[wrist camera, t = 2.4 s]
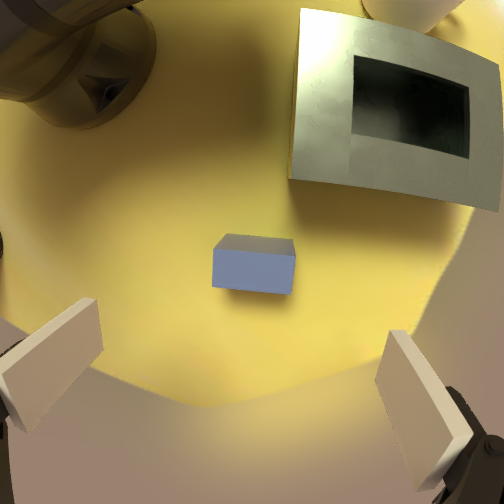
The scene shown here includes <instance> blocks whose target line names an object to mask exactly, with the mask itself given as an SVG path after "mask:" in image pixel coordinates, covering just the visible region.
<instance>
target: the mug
mask: <svg viewBox="0 0 504 504" xmlns="http://www.w3.org/2000/svg"><path fill="white" fill-rule="evenodd" d="M463 1H464V0H362V3H363V5H364V7H365V9H366V11H367V12H368V13H369V15H370V16H371V17H372V18H373V19H374V20H375V21H380V22H384V23H388V24H392V25H395V26H399V27H403V28H406V29H410V30H413V31H416V32H419V33H422V34H425V33H427V32H428V31H430V30H431V29H432V28H433V27H434V26H436V25H437V24H438V23H439V22H440V21H441V20H442V19H444V18H445V17H446V16H447V15H448V14H449V13H450V12H452V11H453V10H454V9H455V8H456V7H457V6H459V5H460V4H461V3H462V2H463Z"/></svg>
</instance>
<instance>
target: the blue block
mask: <svg viewBox="0 0 504 504" xmlns="http://www.w3.org/2000/svg"><path fill="white" fill-rule="evenodd" d="M295 258H296V255H295V250H294V245H293V240H292V239H282V238H271V237H260V236H249V235H237V234H226V235H225V236H224V237H223V239H222V240H221V241H220V242H219V243H218V244H217V245H216V246H215V248H214V251H213V275H212V287H218V288H227V289H236V290H246V291H256V292H266V293H277V294H288V295H291V292H292V284H293V275H294V267H295Z"/></svg>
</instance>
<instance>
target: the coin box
mask: <svg viewBox="0 0 504 504" xmlns="http://www.w3.org/2000/svg"><path fill="white" fill-rule="evenodd" d="M502 165H503V107H502V92H501V81H500V72H499V65H498V64H496V63H494V62H492V61H490V60H488V59H486V58H484V57H481V56H479V55H477V54H475V53H473V52H470V51H468V50H466V49H463V48H461V47H458V46H456V45H453V44H451V43H448V42H445V41H443V40H440V39H437V38H434V37H431V36H428V35H425V34H422V33H419V32H416V31H413V30H410V29H406V28H403V27H399V26H395V25H392V24H388V23H384V22H380V21H375V20H371V19H366V18H362V17H357V16H351V15H346V14H340V13H334V12H327V11H320V10H312V9H302V8H301V12H300V21H299V29H298V37H297V45H296V53H295V71H294V88H293V104H292V118H291V132H290V146H289V159H288V171H287V178H290V179H298V180H308V181H317V182H326V183H334V184H342V185H350V186H357V187H364V188H371V189H378V190H385V191H391V192H398V193H404V194H410V195H415V196H421V197H427V198H432V199H437V200H442V201H448V202H453V203H457V204H462V205H467V206H472V207H476V208H481V209H485V210H490V211H494V212H498V209H499V201H500V192H501V191H500V190H501V180H502Z"/></svg>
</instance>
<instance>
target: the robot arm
mask: <svg viewBox="0 0 504 504" xmlns="http://www.w3.org/2000/svg"><path fill="white" fill-rule="evenodd" d="M141 1H143V0H0V99H4V100H10V101H17V102H22V103H24V104H26V105H27V106H28V107H29V108H31V109H32V110H33V111H34V112H36V113H37V114H38V115H39V116H41V117H42V118H43V119H45V120H46V121H47V122H49V123H50V124H53V125H55V126H58V127H62V128H68V129H75V130H82V129H89V128H93V127H96V126H98V125H101V124H103V123H105V122H107V121H108V120H110V119H112V118H113V117H114V116H116V115H117V114H118V113H120V112H121V111H122V110H123V109H124V108H125V107H126V106H127V105H128V104H129V103H130V102H131V101H132V100H133V99H134V97H135V96H136V95H137V94H138V92H139V91H140V89H141V88H142V86H143V85H144V83H145V81H146V79H147V77H148V75H149V73H150V70H151V68H152V65H153V61H154V57H155V52H156V36H155V31H154V28H153V26H152V24H151V22H150V20H149V19H148V18H147V17H146V16H145V15H144V14H143V12H142V11H141V10H140V9H139V8H137V7H136V6H135V5H133V4H136V3H138V2H141ZM103 350H104V347H103V341H102V335H101V329H100V322H99V314H98V307H97V299H92V298H87V297H83V298H82V299H80V300H79V301H77V302H76V303H74V304H73V305H72V306H70V307H69V308H67V309H66V310H64V311H63V312H62V313H60V314H59V315H57V316H56V317H55V318H53V319H52V320H50V321H49V322H48V323H46V324H45V325H43V326H42V327H41V328H39V329H38V330H37V331H35V332H34V333H33V334H31V335H30V336H28V337H27V338H25V339H23V340H20V341H18V342H17V343H16V344H14V345H13V346H11V347H10V349H7V350H6V351H5V352H4V354H3V353H2V354H1V355H0V504H15V503H14V498H13V490H12V483H11V474H10V464H9V450H8V426H7V423H6V421H5V419H6V417H8V415H9V416H10V418H11V420H12V422H13V424H14V426H15V427H17V428H19V429H20V430H22V431H24V432H26V433H28V434H29V433H30V431H31V430H32V429H33V428H34V427H35V426H36V424H37V423H38V422H39V421H40V420H41V419H42V418H43V416H44V415H45V414H46V413H47V412H48V411H49V410H50V408H51V407H52V406H53V405H54V404H55V403H56V402H57V400H58V399H59V398H60V397H61V396H62V395H63V394H64V393H65V392H66V391H67V389H68V388H69V387H70V386H71V385H72V384H73V383H74V382H75V381H76V379H77V378H78V377H79V376H80V375H81V374H82V373H83V372H84V371H85V370H86V369H87V367H88V366H89V365H90V364H91V363H92V362H93V361H94V360H95V359H96V358H97V357H98V356H99V354H100V353H101V352H102V351H103ZM375 383H376V385H377V388H378V390H379V393H380V396H381V398H382V401H383V403H384V406H385V409H386V411H387V414H388V416H389V419H390V422H391V424H392V427H393V430H394V432H395V435H396V438H397V441H398V444H399V446H400V449H401V452H402V455H403V458H404V460H405V464H406V467H407V470H408V472H409V475H410V479H411V482H412V485H413V488H414V491H415V492H421V491H425V490H430V489H434V488H435V487H436V486H437V485H438V483H439V482H440V481H441V479H442V478H443V480H444V482H445V485H446V486H445V487H444V488H443V490H442V491H441V492H440V493H439V494H438V495H437V497H436V498H435V499H434V500H433V501H432V504H434V503H435V502H436V503H435V504H504V439H503V438H501V437H499V436H496V435H487V433H486V432H485V431H484V429H483V427H482V426H481V424H480V423H479V421H478V420H477V418H476V417H475V415H474V413H473V412H472V411H471V409H470V407H469V406H468V404H466V402H465V400H464V398H463V397H462V395H461V394H460V393H459V392H458V391H456V390H455V389H454V388H452V387H451V386H449V387H444V385H443V384H442V382H441V381H440V379H439V378H438V377H437V375H436V373H435V372H434V371H433V369H432V368H431V366H430V365H429V363H428V362H427V360H426V359H425V357H424V356H423V354H422V353H421V352H420V350H419V349H418V347H417V346H416V345H415V343H414V342H413V340H412V339H411V338H410V336H409V335H408V333H407V332H406V331H405V330H389V334H388V338H387V341H386V345H385V348H384V352H383V355H382V359H381V362H380V365H379V369H378V372H377V375H376V378H375Z"/></svg>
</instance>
